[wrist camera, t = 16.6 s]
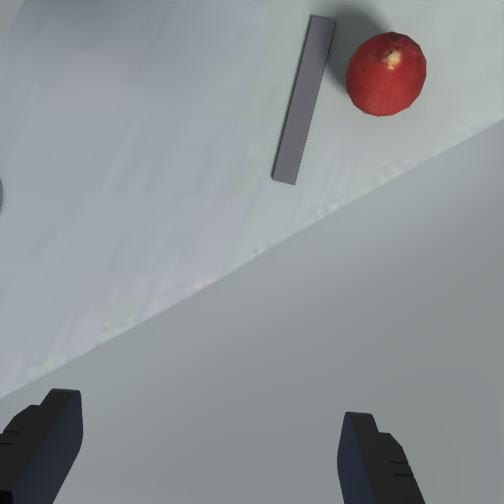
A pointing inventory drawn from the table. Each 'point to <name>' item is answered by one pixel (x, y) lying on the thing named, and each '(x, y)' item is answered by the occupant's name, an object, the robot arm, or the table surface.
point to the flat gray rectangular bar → (304, 99)
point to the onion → (386, 74)
